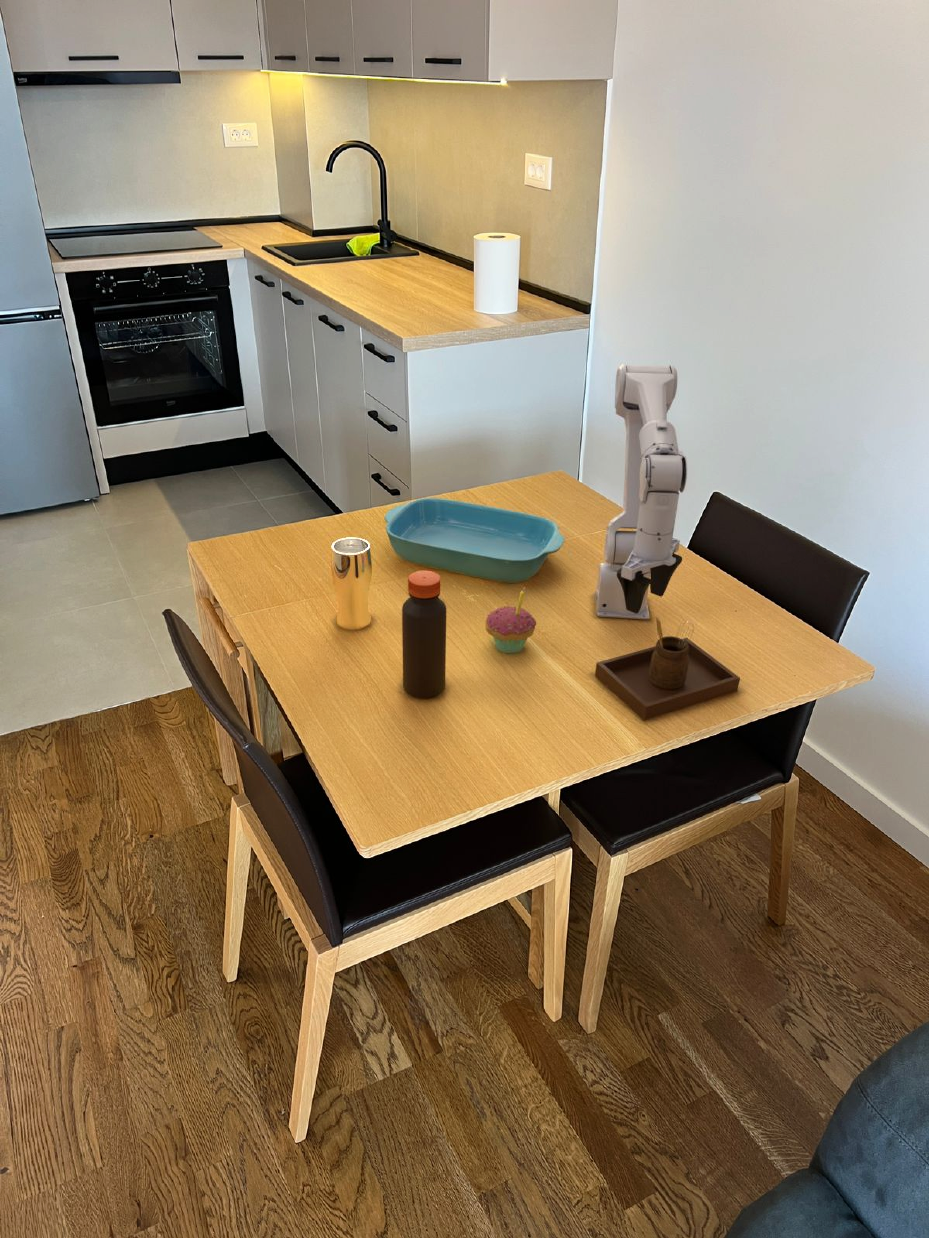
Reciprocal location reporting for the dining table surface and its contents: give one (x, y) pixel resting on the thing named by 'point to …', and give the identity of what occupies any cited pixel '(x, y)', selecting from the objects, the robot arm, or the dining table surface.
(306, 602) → the dining table surface
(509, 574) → the casserole dish
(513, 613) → the cupcake
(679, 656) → the utensil holder
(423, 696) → the bottle
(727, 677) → the tray
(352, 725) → the dining table surface
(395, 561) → the dining table surface
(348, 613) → the beer glass
